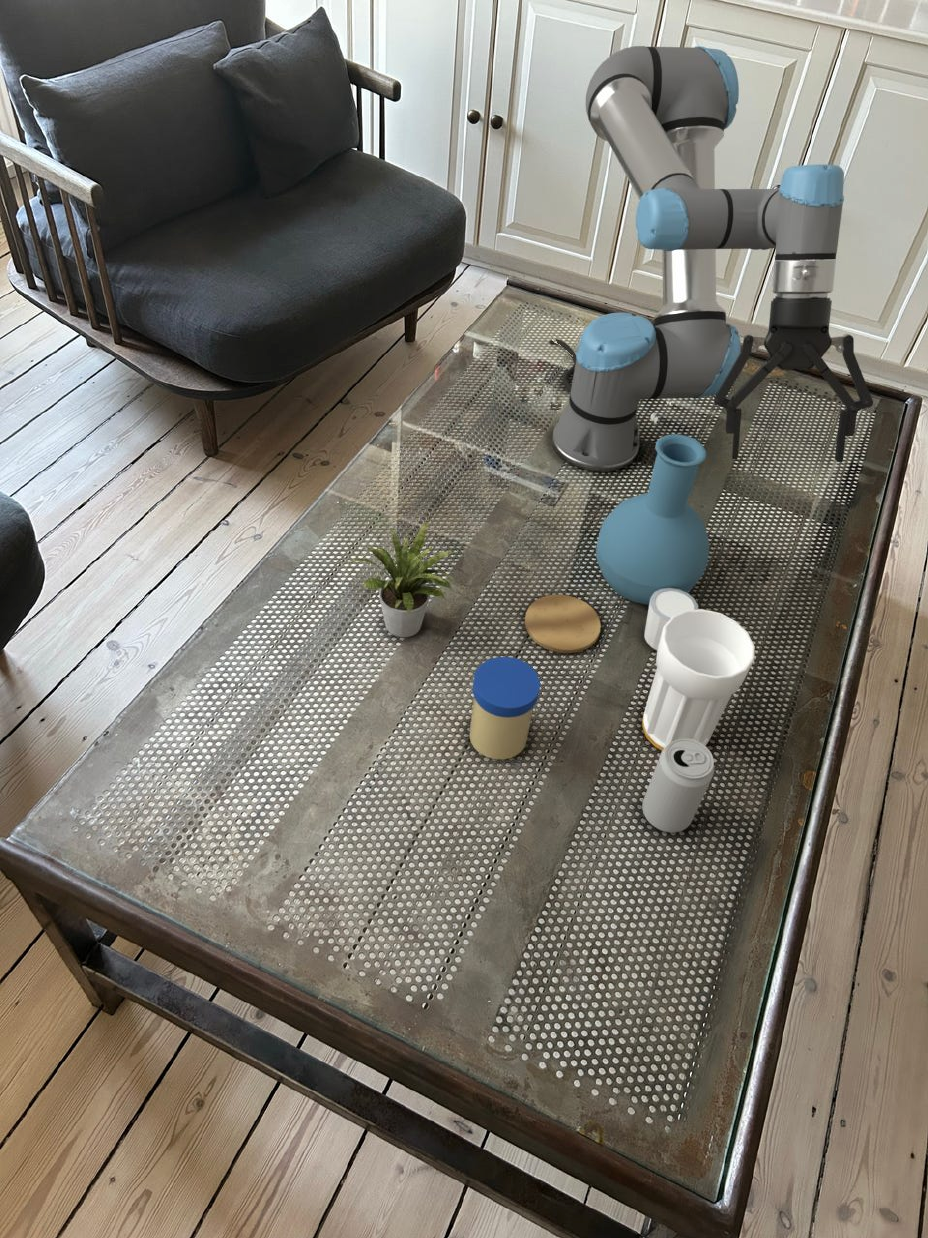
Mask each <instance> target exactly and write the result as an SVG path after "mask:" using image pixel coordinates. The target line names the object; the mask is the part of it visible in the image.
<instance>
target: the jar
mask: <svg viewBox="0 0 928 1238" xmlns="http://www.w3.org/2000/svg"><path fill="white" fill-rule="evenodd" d="M534 707H535V706H534ZM534 707H533V708H532V709H531V710H530V711H528V712H527V713H525V714H523V715H521V716H517V717H499V716H496V715H493V714H490V713H489V712H487V711H485V710H484V709H483V708H482V707H480V706H479V704H478V703H477V702H476V700H475V698H474V697H473V700H472V707H471V708H472V709H471V715H470V716H471V717H470V724H469V732H468V736H469V737H468V738H469V741H470V743H471V745H472V747H473V748H474V749H475V751H476V752H478V753H479V754H480V755H482V756H484V757H486V758H489V759H492V760H508V759H511V758H514V757H516V756H517V755H519V754H521V752H522V751H524V749H525V747H526V745H527V743H528V742H527V741H528V736H529V732H530V727H531V722H532V717H533V712H534Z"/></svg>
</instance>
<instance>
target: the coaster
mask: <svg viewBox="0 0 928 1238" xmlns="http://www.w3.org/2000/svg"><path fill="white" fill-rule="evenodd" d="M601 625H602V624H601V619H600V617H599V615H598V613H597V611H596V610H595V608H593V607H592V606H591V605H589V604H588V603H587V602H585V601H584V600H583V599H580V598H577V597H575V596H571V595H567V594H549V595H545V596H542V597H539V598H538V599H536V600H534V601H533V602H532V603H531V604H530V605H529V606H528V608H527V610H526V612H525V617H524V626H525V631H526V632H527V634H528V636H529V638H531V640H533V641H534V642H535V643H536V644H537V645H539V646H540V647H542V648H544V649H546V650H548V651H550V652H554V653H558V654H575V653H580V652H583V651H586V650H587V649H590V648H591V647H592V646H593V645H595V643H596V642H597V640H598V639H599V637H600V633H601V629H602V628H601V627H602V626H601Z"/></svg>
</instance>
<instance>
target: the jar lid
mask: <svg viewBox="0 0 928 1238" xmlns="http://www.w3.org/2000/svg"><path fill="white" fill-rule="evenodd" d="M540 690H541V680H540V677H539V675H538V672H536V670H535V669H534V668H533V667H532V666H531V665H530V664H529V663H527V662H526V661H524V660H521V659H519V658H517V657H511V656H497V657H492V658H489V659H487V660H485V661H484V662H482V664H480V665H479V666H478V667H477V669H476V670H475V672H474V676H473V683H472V695H473V699H474V698H475V700H476V702H477V703H478V704H479V706H480V707H482V708H483V709H484V710H485V711H487V712H489V713H490V714H493V715H496V716H499V717H517V716H521V715H523V714H525V713H527V712H528V711H530V710H531V709H532V708H533V707H535V706H536V704H537V702H538V700H539V694H540ZM533 709H534V708H533Z"/></svg>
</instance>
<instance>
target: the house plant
mask: <svg viewBox="0 0 928 1238" xmlns="http://www.w3.org/2000/svg"><path fill="white" fill-rule="evenodd" d="M429 523H430V520H428V521H426V523H424V524H423V525H422V526H421V527H420V529H419V530H418V532H417V533H416V535H415V537H414V539H413V541H412V543H411V545H410V546H409V549H408V543H409V536H410V535H409V534H410V532H408V533H407V534H406V537H405V539H404V542H403V546H402V543H401V541H400V539H399V537H398V535H397V533H396V531H394V530H393V528H391V527H389V529H390V534H391V536H392V539H391V540H392V544H393V547H394V551H395V561H396V564H395V561H394V560H393V558H392V556H391V554H390V553H389V552H388V550H387V549H385V548H382V547H381V546H378V545H374V547H371V546H365V549H366V550H368V551H369V552H371V553H372V554H373V556H374V557H375V558H376V559H377V560H378V561H380V562H381V563H382V564H383V566H384V568H385V569H386V571H385V570H384V569H383V568H382V567H380V566H379V565H378V564H377V563H375V562H373V561H372V560H371V559H368V558H354V559H350V560H347V561H346V562H347V563H351V562H364V563H370V564H372V565H375V566H376V567H377V568H379V569H380V570H381V571H382V572H384V573H385V574H386V575H387V576H388V577H389V579H388V580H382V579H380V578H377V577H369V578H367V579H366V580H365V582H364V583H363V585H362V588H363V590H365V589H367V590H379V591H378V598H379V602H380V606H381V612H382V617H383V620H384V626H385V628H386V630H387V631H388V633H390V634H391V635H393V636H395V637H398V638H409V637H412V636H414V635H416V634H417V633H419V631H420V630H421V628H422V624H423V621H424V618H425V614H426V611H427V607H428V604H429V601H430V598H431V596H432V597H439V598H442V599H443V600H447V599H446V598H445V595H447V592H446V591H445V590H443V589H442V588H440V587H438V586H433V585H426V584H436V585H439V586H441V587H444V588H447V589H449V590H451V592H453V589H452V586H451V583H450V582H449V581H448V580H447V579H446V578H442V577H440V576H438V575H436V574H442V575H444V576H446V577H448V578H449V579H451V580H453V581H454V582H457V583H459V581H458V580H457V579H455V578H453V577H452V576H451V575H450V574H448V573H447V572H445V571H442V570H439V569H433V568H432V569H431V568H430V567H432V566H434V565H435V564H436V563H437V562H439V560H441V559H442V558H444V557H447V556H449V555H451V554H453V553H454V551H453V550H452V551H451V550H450V551H449V550H448V551H447V550H446V551H442V552H439V553H436V554H435V553H434V552H433V553H431V554H428V553H429V552H430V551H431V550H432V548H434V545H432V546H430V547H428V548H425V549H424V550H423V547H424V545H425V543H426V533H427V531H428V528H429ZM376 548H377V549H378V550H377V549H376ZM422 550H423V551H422ZM434 554H435V555H434ZM432 555H433V556H432ZM428 556H431V557H430V558H428V559H426V560H425V561H424V562H423V558H424V557H428ZM387 572H388V573H387Z"/></svg>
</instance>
